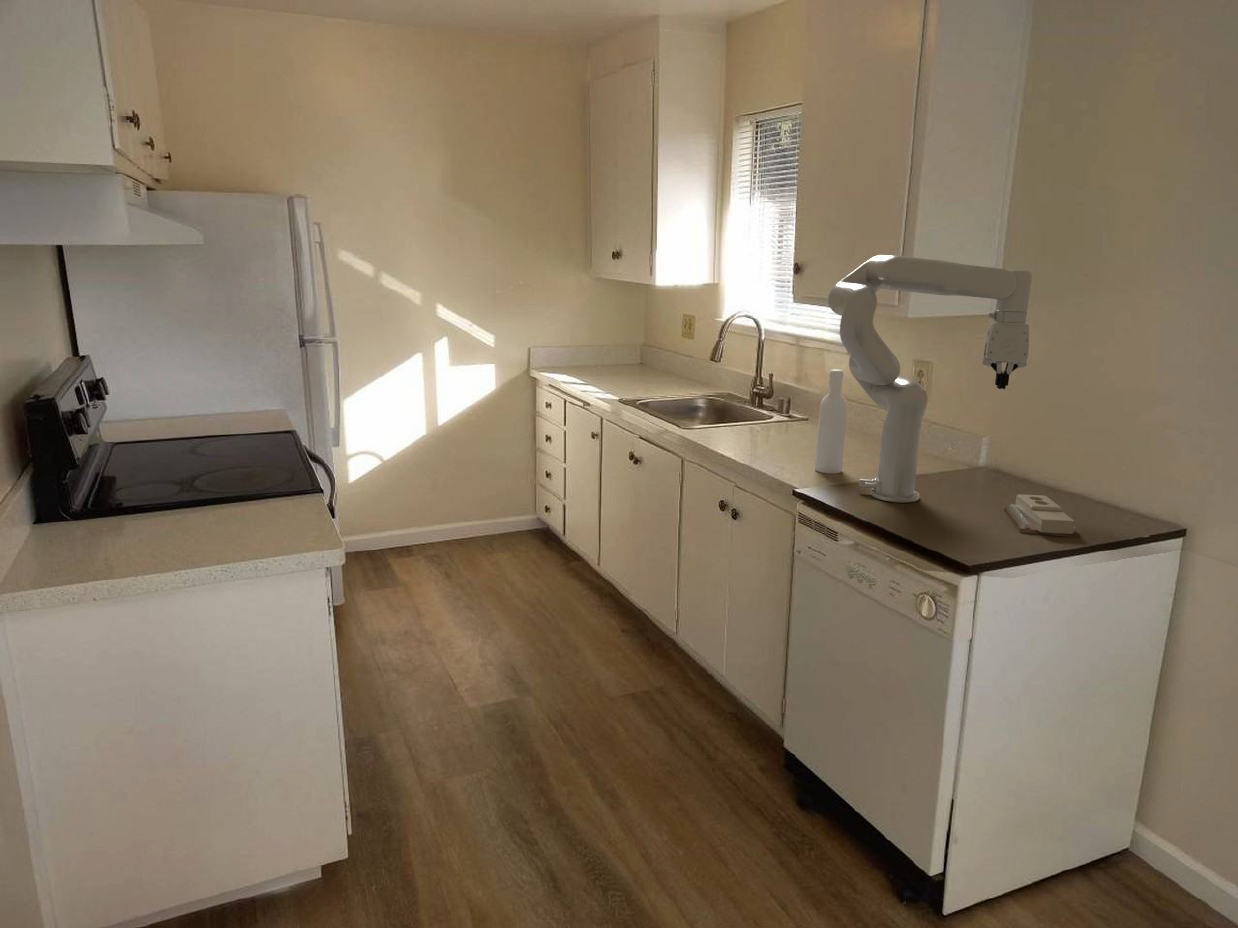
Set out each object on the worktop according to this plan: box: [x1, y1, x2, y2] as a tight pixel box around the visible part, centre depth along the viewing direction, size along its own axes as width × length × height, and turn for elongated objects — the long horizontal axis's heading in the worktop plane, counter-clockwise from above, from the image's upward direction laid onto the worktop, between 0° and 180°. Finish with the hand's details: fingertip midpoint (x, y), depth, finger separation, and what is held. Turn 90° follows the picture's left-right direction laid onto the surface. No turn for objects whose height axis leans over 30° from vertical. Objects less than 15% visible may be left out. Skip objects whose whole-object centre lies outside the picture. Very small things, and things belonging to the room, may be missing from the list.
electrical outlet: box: [1014, 493, 1075, 534], centre depth 208 cm, size 7×4×18 cm
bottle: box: [814, 368, 849, 475], centre depth 252 cm, size 8×8×30 cm
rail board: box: [1003, 503, 1081, 538], centre depth 210 cm, size 13×18×2 cm
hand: (1000, 388), depth 227 cm, fingers closed
